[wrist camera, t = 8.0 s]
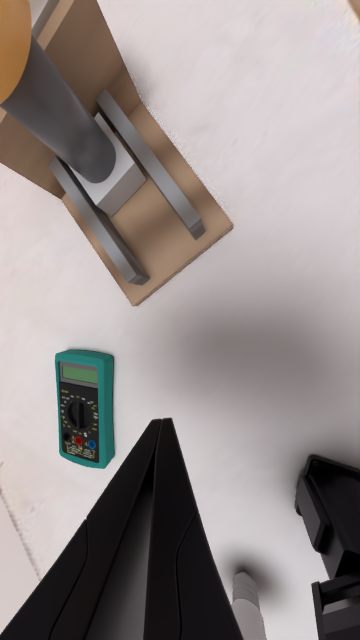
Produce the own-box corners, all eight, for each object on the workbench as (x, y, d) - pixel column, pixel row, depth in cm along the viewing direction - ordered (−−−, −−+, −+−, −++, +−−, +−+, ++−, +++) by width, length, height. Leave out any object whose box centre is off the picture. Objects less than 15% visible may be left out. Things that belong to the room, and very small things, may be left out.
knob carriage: (149, 177, 18) (-22, -91, 6) (109, 219, 20) (-92, 82, 7) (117, 132, 19) (-107, -206, 6) (80, 177, 20) (-156, -19, 8)
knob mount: (232, 228, 18) (235, 166, 10) (137, 306, 21) (80, 308, 13) (114, 69, 19) (30, -100, 11) (43, 166, 23) (-60, 91, 15)
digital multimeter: (73, 445, 27) (55, 462, 24) (70, 346, 25) (49, 352, 22) (117, 458, 25) (102, 478, 22) (116, 352, 23) (100, 360, 20)
